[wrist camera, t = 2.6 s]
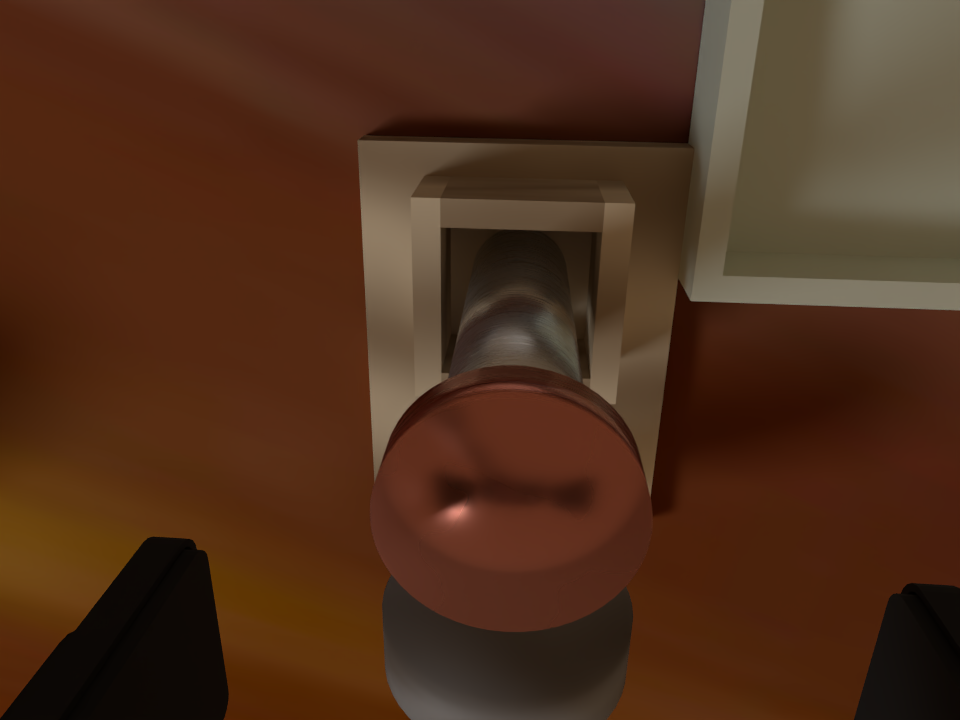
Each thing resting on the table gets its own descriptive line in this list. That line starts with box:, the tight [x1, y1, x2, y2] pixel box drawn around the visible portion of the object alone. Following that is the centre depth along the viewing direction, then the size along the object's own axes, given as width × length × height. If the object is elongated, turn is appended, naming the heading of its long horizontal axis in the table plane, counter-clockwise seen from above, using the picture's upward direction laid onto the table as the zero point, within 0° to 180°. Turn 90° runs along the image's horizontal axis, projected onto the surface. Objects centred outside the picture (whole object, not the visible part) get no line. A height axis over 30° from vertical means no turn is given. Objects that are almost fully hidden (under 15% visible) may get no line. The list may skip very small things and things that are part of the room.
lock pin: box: [370, 229, 653, 632], centre depth 19 cm, size 5×5×13 cm
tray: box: [678, 0, 960, 310], centre depth 21 cm, size 12×12×3 cm
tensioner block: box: [358, 135, 695, 720], centre depth 22 cm, size 14×10×11 cm
